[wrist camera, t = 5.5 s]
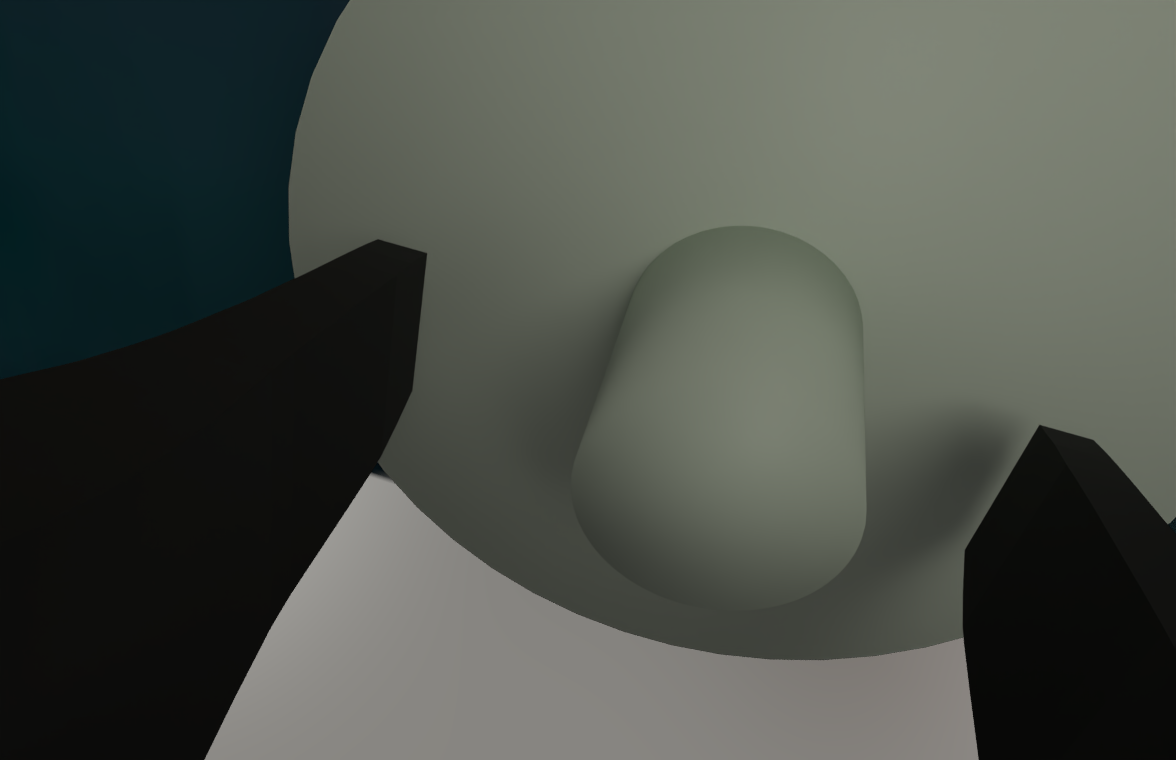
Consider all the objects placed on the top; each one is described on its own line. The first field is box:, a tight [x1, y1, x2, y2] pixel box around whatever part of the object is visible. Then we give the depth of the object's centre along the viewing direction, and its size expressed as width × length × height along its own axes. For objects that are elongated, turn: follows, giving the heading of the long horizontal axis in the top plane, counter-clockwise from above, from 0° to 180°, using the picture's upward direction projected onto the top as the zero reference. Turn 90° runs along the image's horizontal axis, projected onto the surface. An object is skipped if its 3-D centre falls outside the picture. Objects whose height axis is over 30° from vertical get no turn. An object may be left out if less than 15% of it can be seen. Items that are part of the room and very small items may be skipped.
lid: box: [289, 0, 1176, 660], centre depth 11 cm, size 12×12×4 cm
